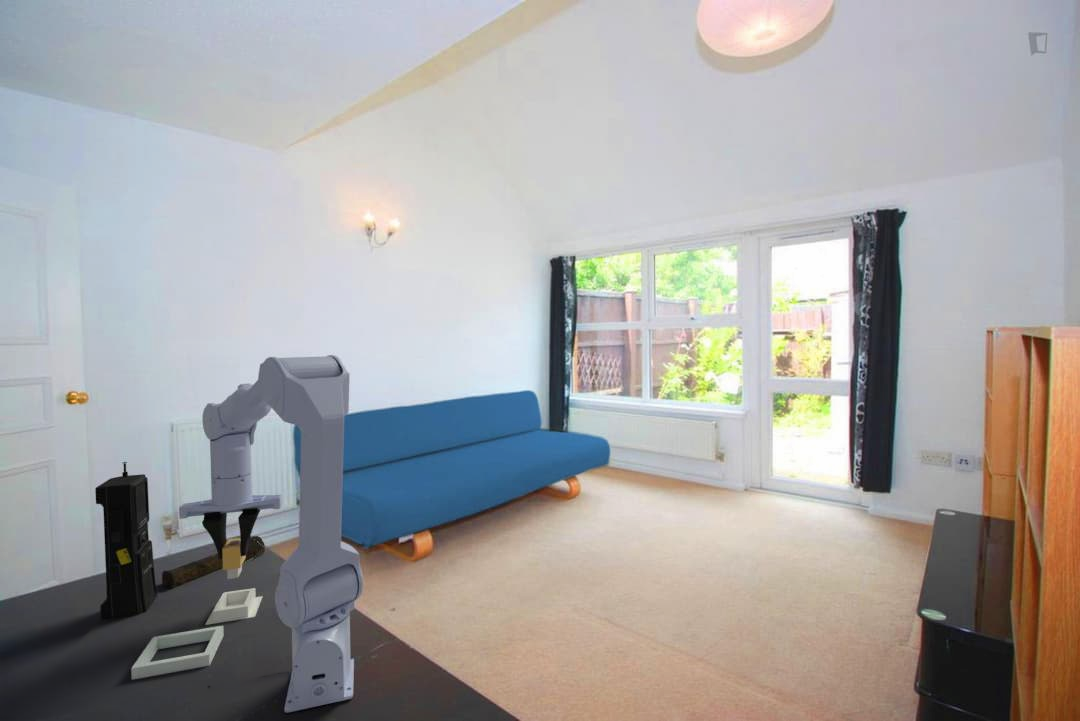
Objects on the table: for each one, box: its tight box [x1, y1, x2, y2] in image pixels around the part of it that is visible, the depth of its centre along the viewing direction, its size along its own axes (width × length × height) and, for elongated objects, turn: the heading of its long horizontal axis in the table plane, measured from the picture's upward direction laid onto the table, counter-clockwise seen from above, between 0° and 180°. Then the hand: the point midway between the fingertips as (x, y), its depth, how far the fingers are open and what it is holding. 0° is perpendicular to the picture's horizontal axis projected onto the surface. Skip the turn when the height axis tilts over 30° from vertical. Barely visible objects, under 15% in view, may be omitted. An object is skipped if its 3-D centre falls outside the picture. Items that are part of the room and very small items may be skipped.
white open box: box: [205, 587, 264, 626], centre depth 85 cm, size 7×7×3 cm
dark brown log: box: [161, 535, 266, 590], centre depth 101 cm, size 19×4×5 cm, turn 149°
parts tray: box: [130, 625, 225, 681], centre depth 73 cm, size 8×9×2 cm
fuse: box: [222, 537, 246, 580], centre depth 85 cm, size 4×2×6 cm, turn 19°
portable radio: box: [94, 461, 158, 620], centre depth 85 cm, size 8×6×25 cm
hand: (233, 554), depth 85 cm, fingers closed on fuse, 2 cm apart
